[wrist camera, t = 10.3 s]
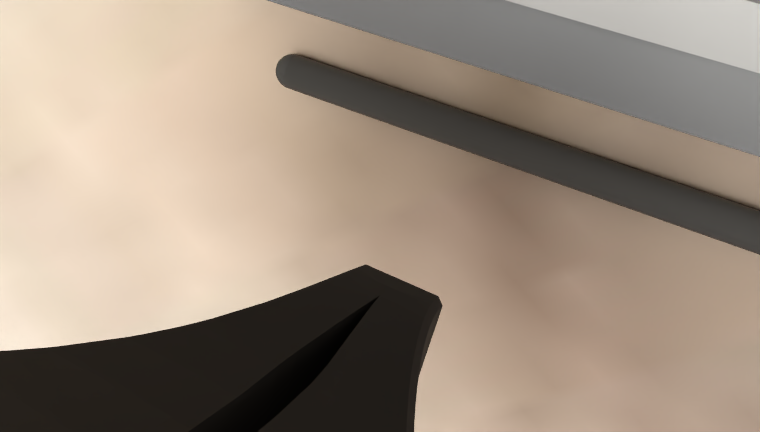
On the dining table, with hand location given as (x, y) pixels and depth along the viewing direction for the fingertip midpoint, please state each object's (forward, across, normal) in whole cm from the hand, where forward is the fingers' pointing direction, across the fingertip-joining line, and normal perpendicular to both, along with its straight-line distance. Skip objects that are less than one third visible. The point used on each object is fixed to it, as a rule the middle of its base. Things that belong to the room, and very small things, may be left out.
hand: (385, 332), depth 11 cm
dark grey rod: (+10, -3, 0) cm, 10 cm away
